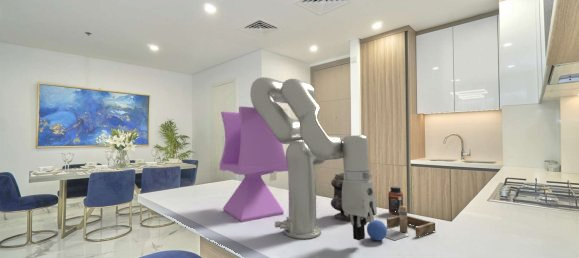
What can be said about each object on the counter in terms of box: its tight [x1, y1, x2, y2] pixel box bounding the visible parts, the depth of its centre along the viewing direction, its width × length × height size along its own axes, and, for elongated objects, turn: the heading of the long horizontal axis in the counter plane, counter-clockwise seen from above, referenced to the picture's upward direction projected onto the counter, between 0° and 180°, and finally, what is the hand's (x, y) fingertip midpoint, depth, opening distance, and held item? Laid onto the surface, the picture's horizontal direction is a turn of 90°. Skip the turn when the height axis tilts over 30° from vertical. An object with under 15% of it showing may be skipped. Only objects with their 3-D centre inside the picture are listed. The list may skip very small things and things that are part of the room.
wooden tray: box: [386, 215, 436, 238], centre depth 91 cm, size 10×12×3 cm
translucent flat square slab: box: [385, 228, 406, 241], centre depth 86 cm, size 8×7×1 cm
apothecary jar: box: [330, 172, 351, 222], centre depth 106 cm, size 12×12×18 cm
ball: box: [366, 219, 388, 241], centre depth 81 cm, size 6×6×6 cm
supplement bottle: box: [387, 186, 404, 216], centre depth 112 cm, size 6×6×11 cm
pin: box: [398, 205, 408, 233], centre depth 89 cm, size 2×2×8 cm
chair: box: [219, 105, 288, 223], centre depth 114 cm, size 22×22×45 cm
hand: (359, 238), depth 76 cm, fingers closed
